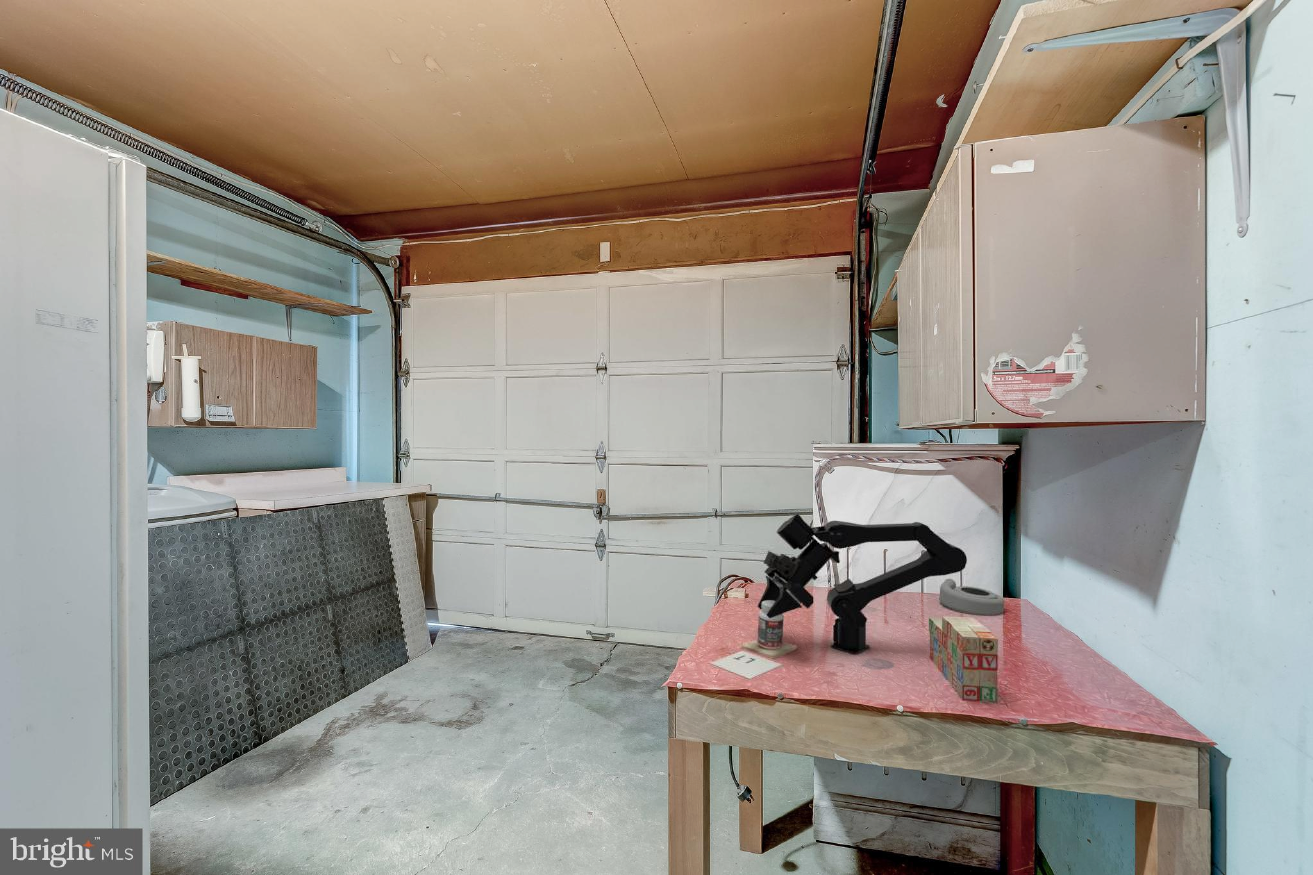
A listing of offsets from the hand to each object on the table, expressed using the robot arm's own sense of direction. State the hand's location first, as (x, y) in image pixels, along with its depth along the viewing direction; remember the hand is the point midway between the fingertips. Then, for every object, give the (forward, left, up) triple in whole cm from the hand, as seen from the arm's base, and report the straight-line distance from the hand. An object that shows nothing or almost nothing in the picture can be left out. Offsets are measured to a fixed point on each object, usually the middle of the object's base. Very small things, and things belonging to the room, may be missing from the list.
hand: (763, 612), depth 134 cm
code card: (-3, +10, -8) cm, 14 cm away
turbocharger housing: (-20, -71, -9) cm, 74 cm away
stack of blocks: (-37, -17, -9) cm, 42 cm away
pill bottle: (-1, -1, -8) cm, 8 cm away
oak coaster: (-1, -1, -8) cm, 9 cm away
